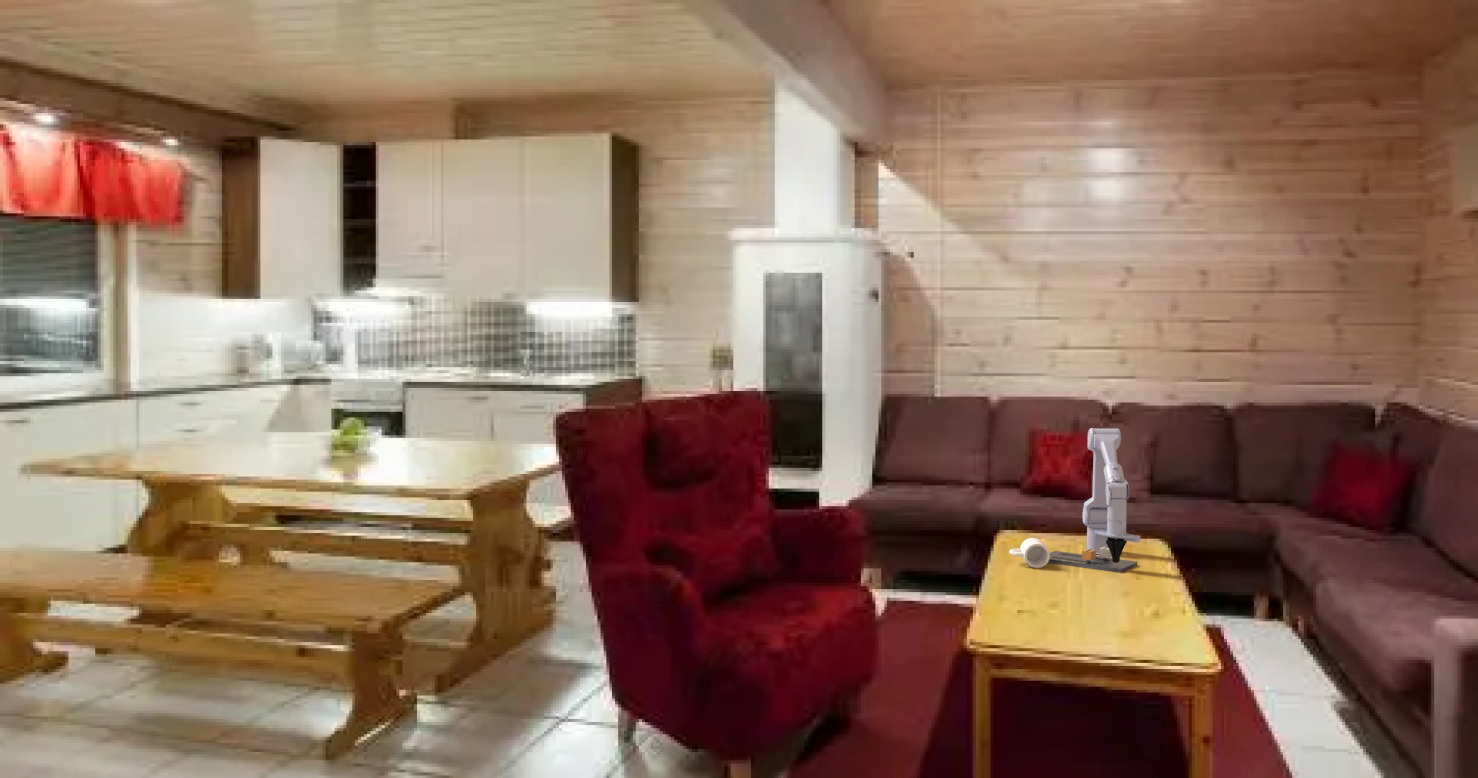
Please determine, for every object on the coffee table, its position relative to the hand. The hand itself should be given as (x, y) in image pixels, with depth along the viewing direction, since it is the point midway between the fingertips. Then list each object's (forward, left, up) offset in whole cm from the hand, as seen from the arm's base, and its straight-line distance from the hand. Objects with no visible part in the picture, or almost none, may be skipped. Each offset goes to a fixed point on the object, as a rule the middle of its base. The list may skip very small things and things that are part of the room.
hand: (1116, 562), depth 362 cm
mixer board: (-3, -11, -2) cm, 12 cm away
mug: (+11, -25, -3) cm, 27 cm away
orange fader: (0, -9, -1) cm, 9 cm away
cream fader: (-7, -6, -1) cm, 9 cm away
